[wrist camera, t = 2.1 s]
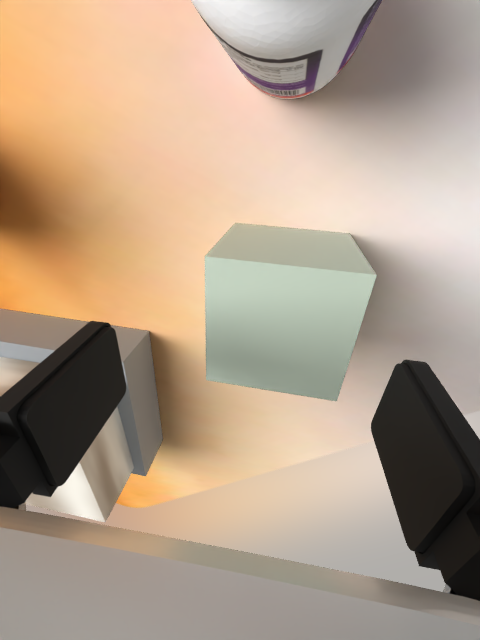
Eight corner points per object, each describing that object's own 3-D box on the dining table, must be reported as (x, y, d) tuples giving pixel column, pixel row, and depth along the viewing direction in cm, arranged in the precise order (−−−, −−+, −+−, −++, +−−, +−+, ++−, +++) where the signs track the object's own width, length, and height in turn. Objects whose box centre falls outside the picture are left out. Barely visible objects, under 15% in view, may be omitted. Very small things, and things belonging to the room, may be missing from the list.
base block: (152, 327, 21) (123, 361, 17) (165, 435, 27) (145, 476, 23) (5, 305, 22) (-48, 333, 19) (49, 412, 28) (15, 448, 25)
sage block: (349, 233, 15) (376, 274, 10) (325, 330, 18) (336, 401, 13) (235, 222, 15) (204, 256, 10) (231, 317, 18) (206, 380, 13)
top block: (108, 373, 18) (63, 424, 14) (133, 467, 23) (105, 522, 20) (-29, 352, 19) (-99, 395, 16) (24, 446, 24) (-20, 493, 21)
